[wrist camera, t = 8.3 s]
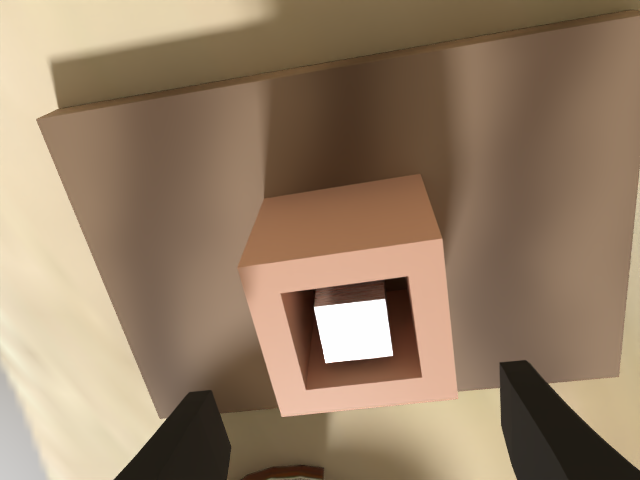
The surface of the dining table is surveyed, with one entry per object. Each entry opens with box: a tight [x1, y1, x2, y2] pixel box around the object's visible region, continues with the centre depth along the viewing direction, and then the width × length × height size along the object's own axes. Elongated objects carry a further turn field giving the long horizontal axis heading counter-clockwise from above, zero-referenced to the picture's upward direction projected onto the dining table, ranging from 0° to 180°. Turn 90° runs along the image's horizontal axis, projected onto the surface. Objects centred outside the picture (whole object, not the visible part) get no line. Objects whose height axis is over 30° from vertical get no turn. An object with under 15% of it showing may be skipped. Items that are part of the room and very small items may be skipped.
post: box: [314, 279, 393, 363], centre depth 18 cm, size 2×2×4 cm
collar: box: [237, 174, 458, 417], centre depth 18 cm, size 6×6×5 cm
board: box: [36, 10, 640, 419], centre depth 21 cm, size 20×14×2 cm
